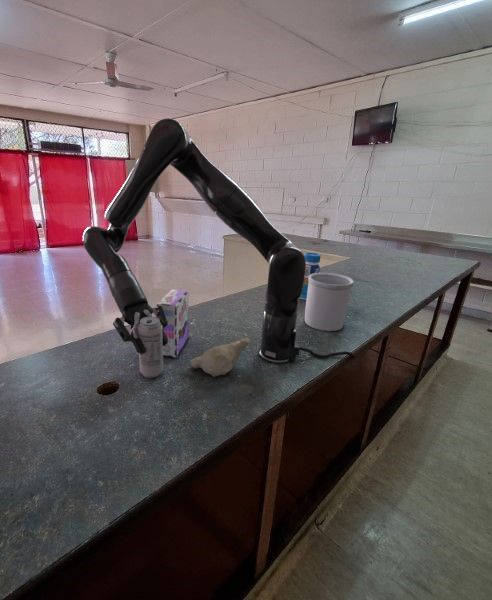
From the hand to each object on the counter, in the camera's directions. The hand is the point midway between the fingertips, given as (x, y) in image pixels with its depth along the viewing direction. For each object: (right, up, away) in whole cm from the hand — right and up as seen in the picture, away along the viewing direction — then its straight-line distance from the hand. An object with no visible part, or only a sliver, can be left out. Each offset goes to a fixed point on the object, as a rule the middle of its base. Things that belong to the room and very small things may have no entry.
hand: (154, 348), depth 79 cm
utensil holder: (+56, +3, +38) cm, 68 cm away
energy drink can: (-1, -7, +4) cm, 8 cm away
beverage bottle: (+58, +13, +64) cm, 87 cm away
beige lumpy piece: (+17, -7, +8) cm, 20 cm away
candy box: (+3, -2, +19) cm, 19 cm away
